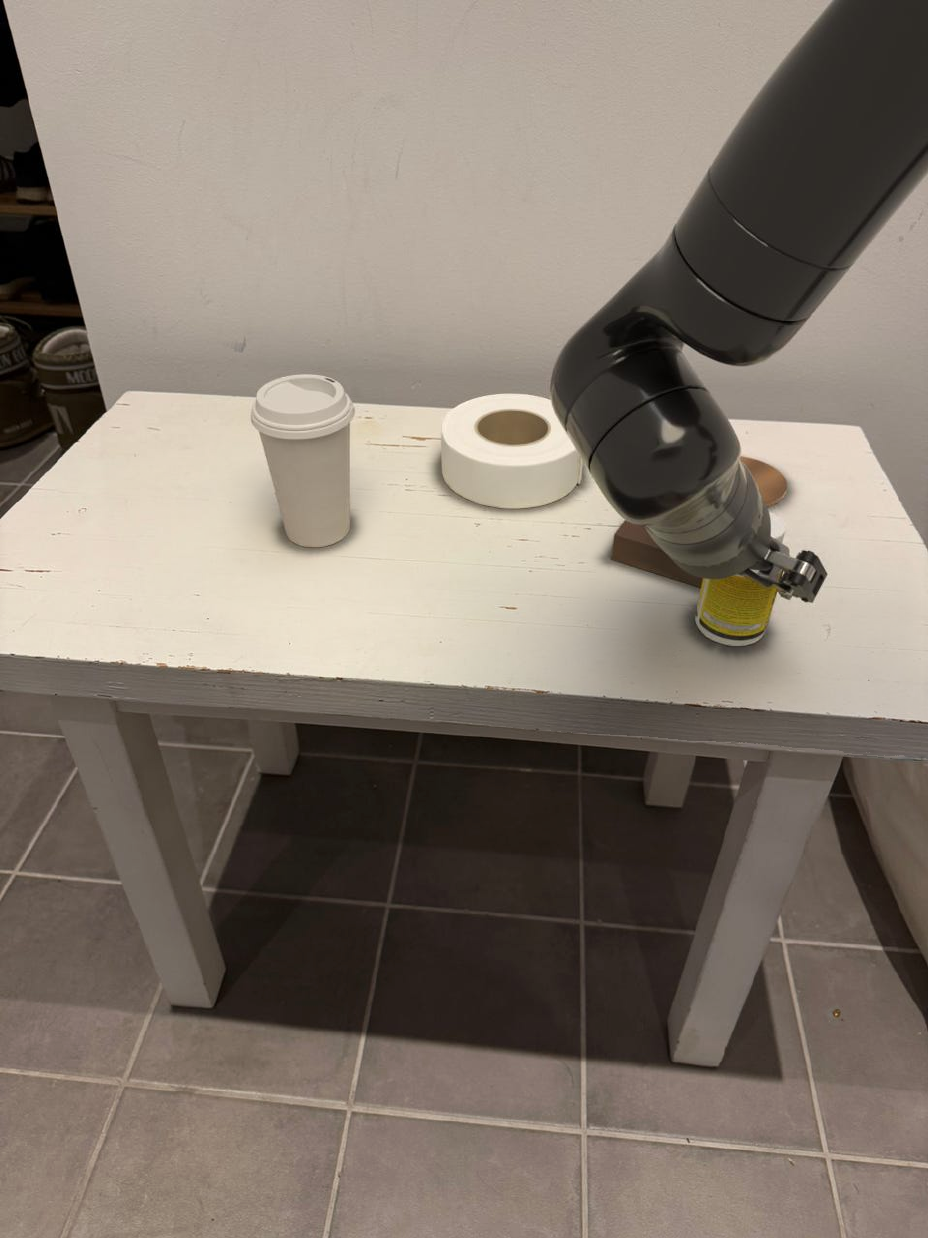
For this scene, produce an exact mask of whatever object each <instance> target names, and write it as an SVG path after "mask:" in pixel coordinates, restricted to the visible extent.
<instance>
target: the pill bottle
mask: <svg viewBox="0 0 928 1238" xmlns="http://www.w3.org/2000/svg"><path fill="white" fill-rule="evenodd" d="M769 514H770V520H771V537H773V538H774V539H776V540H777V541H779V542H781V543H782V544H783V542H784V538H785V534H786V529H787V527H786V524H785V522H784V521H783V520H782V518H781V517H779V516H778V515H777V514H775V513H774V512H771V511H769ZM750 570H751V569H750ZM752 571H753V572H755V573H758V572H759V570H752ZM783 574H784V571H783V570H781V569H780V571H779V573H778V575H777V579H778V580H780V579H781V578H782V576H783ZM777 595H778V591H777V589H776V588H774V587H772V586H771V587H769V588H767V587H764V586H760V585H757V584H755V583H753V582H751V581H750V580H748V579H746V578H745V577H743V576H741V575H738V574H736V575H733V576H731V577H727V578H722V579H705V578H703V581H702V586H701V587H700V590H699V595H698V598H697V599H698V600H697V605H696V609H695V615H694V619H695V624H696V626H697V628H698V629H699V631H700V632H701V634H703V635H704V636H705V637H706V638H707V639H709V640H711V641H713V642H716V643H718V644H720V645H721V644H722V645H725V646H731V647H743V646H744V647H745V646H748V645H749V646H750V645H752V644H754V643H755V644H756V643H757V642H759V641H760V640H761V639H762V638H763V636H764V635H765V633H766V630H767V628H768V625H769V621H770V618H771V615H772V611H773V608H774V604H775V601H776V598H777Z"/></svg>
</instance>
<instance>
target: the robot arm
mask: <svg viewBox="0 0 928 1238" xmlns="http://www.w3.org/2000/svg"><path fill="white" fill-rule="evenodd" d="M927 175H928V0H831V1H830V3H829V4H828V5H827V6H826V7H825V8H824V10H823V11H821V13H820V15H818V17H817V18H816V20H814V22H813V23H812V24H811V25H810V27H808V29H807V30H806V31H805V33H804V34H803V35H801V37H800V38H799V40H798V41H797V42H796V43H795V44H794V46H793V47H792V48H791V50H790V51H789V52H788V53H787V55H786V56H785V57H784V58H783V59H782V60H781V62H780V63H779V64H778V65H777V67H776V68H775V70H774V71H773V72H772V73H771V75H770V76H769V77H768V79H767V80H766V81H765V83H764V84H763V85H762V87H761V88H760V90H759V91H758V92H757V93H756V95H755V96H754V98H753V99H752V100H751V102H750V103H749V105H748V106H747V107H746V109H745V111H744V112H743V113H742V115H741V116H740V118H739V119H738V121H737V123H736V124H735V126H734V127H733V129H732V130H731V131H730V133H729V134H728V137H726V140H725V141H724V142H723V144H722V146H721V148H720V149H719V150H718V152H717V154H716V156H715V158H714V159H713V161H712V163H711V165H710V166H709V167H708V169H707V171H706V172H705V174H704V176H703V177H702V179H701V181H700V183H699V184H698V186H697V187H696V189H695V191H694V192H693V194H692V196H691V197H690V199H689V201H688V202H687V204H686V206H685V207H684V208H683V211H682V212H681V213H680V216H679V217H678V218H677V221H676V223H675V224H674V226H673V228H672V229H671V231H670V232H669V234H668V236H667V238H666V240H665V241H664V243H663V245H662V246H661V247H660V248H659V250H657V251H656V253H654V255H653V256H652V257H651V258H649V260H648V261H647V262H645V264H644V265H643V266H641V267H640V269H638V271H636V272H635V273H634V274H633V275H632V277H630V278H629V280H628V281H627V282H626V283H624V284H623V286H622V287H620V289H619V290H618V291H616V292H615V293H614V295H612V297H611V298H609V300H608V301H607V302H605V304H604V305H603V306H601V307H600V308H599V309H598V310H597V311H595V313H594V314H592V315H591V316H590V318H588V319H587V320H586V321H585V322H584V323H582V325H581V326H579V328H577V330H576V331H574V333H573V334H572V335H571V336H569V338H568V339H567V341H566V342H565V343H564V345H563V346H562V348H561V350H560V351H559V353H558V355H557V357H556V359H555V362H554V366H553V368H552V372H551V377H550V387H549V397H550V400H551V403H552V407H553V409H554V412H555V415H556V416H557V418H558V420H559V422H560V424H561V425H562V427H563V429H564V430H565V432H566V434H567V435H568V437H569V438H570V440H571V442H572V443H573V445H574V447H575V448H576V450H577V452H578V453H579V455H580V457H581V458H582V460H583V465H584V466H585V467H586V469H587V470H588V472H589V473H590V475H591V477H592V479H593V481H594V483H595V484H596V485H597V487H598V489H599V490H600V492H601V494H602V495H603V496H604V498H605V499H606V502H608V504H609V505H610V506H611V507H612V508H613V509H614V510H615V511H616V513H617V514H618V515H619V516H620V517H621V518H622V519H623V520H624V521H625V520H626V521H627V522H629V523H632V524H635V525H641V526H642V527H643V528H644V530H645V531H646V532H647V533H648V534H649V535H650V536H651V538H652V539H653V540H654V542H655V543H656V544H657V545H658V546H659V547H660V548H661V549H662V550H663V551H664V552H665V553H666V554H667V555H668V556H669V557H670V558H671V559H672V560H673V561H674V562H675V563H676V564H677V565H678V566H679V567H680V568H681V569H683V570H684V571H686V572H687V573H689V574H691V575H694V576H696V577H700V578H705V579H722V578H727V577H731V576H733V575H736V574H738V575H741V576H743V577H745V578H746V579H748V580H750V581H751V582H753V583H755V584H757V585H760V586H764V587H767V588H769V587H771V586H772V587H774V588H776V589H777V591H778V592H777V594H778V595H779V596H780V598H783V599H786V600H788V601H790V600H791V599H792V597H794V598H796V599H798V598H799V599H800V600H801V601H802V602H804V603H810V604H814V602H815V599H816V598H817V596H818V594H819V592H820V590H821V588H822V586H823V584H824V582H825V580H826V579H827V577H828V575H829V573H828V572H827V570H826V568H825V566H824V565H823V563H822V561H821V559H820V557H819V556H818V555H817V554H815V552H814V551H812V550H805V549H802V550H801V551H800V552H797V554H796V556H795V557H793V556H791V555H790V548H789V547H788V546H787V545H785V544H784V543H783V542H782V543H781V542H779V541H777V540H776V539H774V538H773V537H771V520H770V514H769V512H770V511H769V508H768V506H767V505H766V503H765V501H764V499H763V497H762V495H761V493H760V490H759V488H758V486H757V484H756V482H755V480H754V478H753V476H752V474H751V472H750V471H749V469H748V468H747V466H746V465H745V464H744V463H743V462H742V461H741V460H740V456H741V457H742V446H741V442H740V440H739V437H738V436H737V433H736V431H735V429H734V428H733V425H732V424H731V422H730V419H729V418H728V417H727V415H726V414H725V411H723V409H722V407H721V406H720V404H719V403H718V401H717V400H716V399H715V397H714V396H713V395H712V393H711V392H710V390H709V389H708V388H707V386H706V384H705V383H704V382H703V380H702V379H701V377H700V376H699V375H698V373H697V372H696V370H695V368H693V366H692V365H691V363H690V362H689V360H688V359H687V358H686V355H685V354H684V353H683V348H684V347H685V345H686V346H688V347H690V348H691V349H692V350H694V351H695V352H697V353H698V354H700V355H702V356H704V357H705V358H708V359H711V360H712V361H715V362H717V363H719V364H724V365H727V366H732V367H752V366H753V367H754V366H756V365H760V364H762V363H764V362H766V361H769V360H770V359H771V358H773V357H774V356H776V355H777V354H778V353H779V352H781V350H783V349H784V348H785V347H786V346H787V345H788V344H789V343H790V342H791V340H792V339H794V337H795V336H796V335H797V333H799V331H800V330H801V329H802V328H803V326H804V325H805V324H806V323H807V322H808V320H809V319H810V318H811V317H812V316H813V314H814V313H815V312H816V311H817V310H818V308H819V307H820V306H821V305H822V303H823V302H824V301H825V300H826V299H827V297H828V296H829V295H830V293H831V292H833V290H834V289H835V287H836V286H838V284H839V282H840V281H841V280H842V279H843V278H844V277H845V275H846V274H847V273H848V271H849V270H850V269H851V268H852V267H853V266H854V264H856V262H857V260H858V259H859V258H860V257H861V256H862V254H863V253H864V252H865V250H866V249H868V247H869V246H870V244H871V243H872V242H873V241H874V239H875V238H876V237H877V236H878V235H879V234H880V232H881V231H882V230H883V228H884V227H885V226H886V225H887V223H888V222H889V221H890V220H891V218H892V217H893V216H894V215H895V214H896V212H897V211H898V210H899V209H900V207H901V206H902V205H903V204H904V202H905V201H907V200H908V198H909V196H911V194H912V193H913V192H914V191H915V190H916V189H917V187H918V186H919V185H920V183H921V182H922V181H923V180H924V179H925V177H927ZM750 569H751V570H750ZM780 569H781V570H783V571H784V572H783V575H782V578H781V579H780V580H778V579H777V575H778V573H779V571H780ZM752 570H759V572H758V573H755V572H753V571H752Z"/></svg>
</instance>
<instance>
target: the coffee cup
mask: <svg viewBox="0 0 928 1238" xmlns="http://www.w3.org/2000/svg"><path fill="white" fill-rule="evenodd" d="M355 413H356V410H355V405H354V403H353V401H352V398H351V397H350V396H349V395H348V393H346V391H345V389H344V387H343V385H342V384H341V383H340V382H339V381H338V380H336V379H334V378H332V377H330V376H329V377H328V376H325V375H320V374H309V373H304V374H301V373H300V374H291V375H286V376H282V377H278V378H276V379H272V380H270V381H269V382H267V383H265V384H264V385H262V386H261V387H260V388H259V389H258V391H257V392H256V396H255V400H254V402H253V404H252V407H251V411H250V423H251V425H252V426H253V427H254V429H255V430H257V431H258V434H259V437H260V441H261V444H262V448H263V451H264V452H263V453H264V456H265V459H266V463H267V466H268V470H269V474H270V478H271V483H272V486H273V489H274V491H275V492H274V493H275V496H276V499H277V504H278V508H279V511H280V516H281V519H282V523H283V527H284V531H285V534H286V537H287V538H288V540H290V541H291V542H292V543H293V544H295V545H297V546H301V547H304V548H323V547H328V546H332V545H334V544H337V543H339V542H340V541H342V540H344V538H346V537H347V535H348V533H349V532H350V528H351V492H350V491H351V423H352V420H353V419H354V417H355Z"/></svg>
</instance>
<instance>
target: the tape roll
mask: <svg viewBox="0 0 928 1238" xmlns="http://www.w3.org/2000/svg"><path fill="white" fill-rule="evenodd" d="M440 426H441V427H440V447H441V449H440V450H441V454H440V455H441V475H442V477H443V480H444V482H445V483H446V485H447V486H448V487H449V488H450V489H451V490H452V491H453V492H454V493H455V494H457V495H459V496H461V497H462V498H464V499H466V500H468V501H470V502H473V503H476V504H479V505H483V506H486V507H491V508H492V507H493V508H499V509H515V510H516V509H529V508H530V509H531V508H536V507H541V506H546V505H548V504H551V503H554V502H557V501H559V500H560V499H562V498H564V497H566V496H567V495H568V494H570V493H571V492H572V491H573V490H574V488H576V486H577V485H581V482H582V477H583V476H582V475H583V469H584V462H583V460H582V458H581V457H580V455H579V453H578V452H577V450H576V448H575V447H574V445H573V443H572V442H571V440H570V438H569V437H568V435H567V434H566V432H565V430H564V429H563V427H562V425H561V424H560V422H559V420H558V418H557V416H556V415H555V412H554V409H553V407H552V403H551V398H550V399H549V398H546V397H542V396H537V395H533V394H526V393H524V394H523V393H498V394H497V393H495V394H488V395H483V396H479V397H478V396H477V397H475V398H472V399H469V400H466V401H463V402H462V403H460V404H458V405H456V406H455V407H453V408H452V409H450V410H449V411H448V412H447V413H446V414H445V416H444V418H443V420H442V421H441V425H440Z"/></svg>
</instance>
